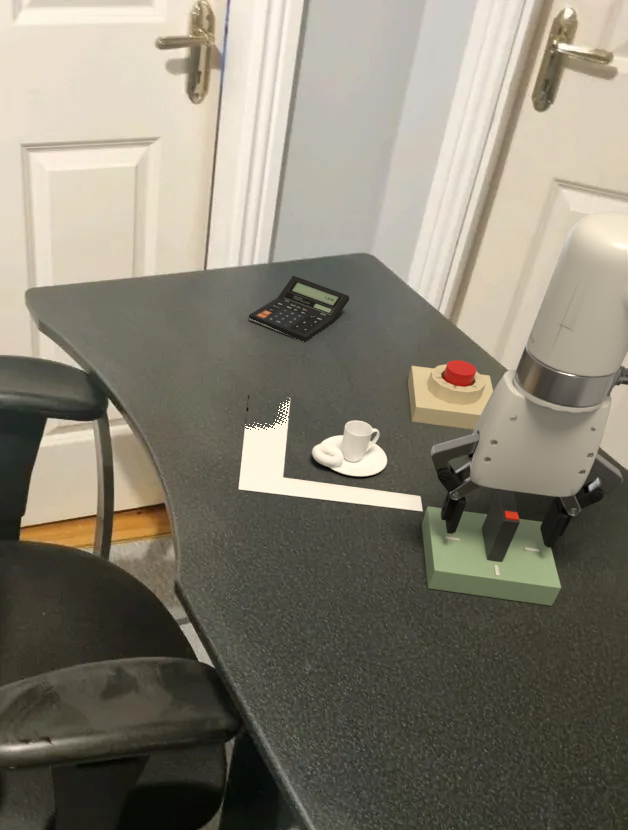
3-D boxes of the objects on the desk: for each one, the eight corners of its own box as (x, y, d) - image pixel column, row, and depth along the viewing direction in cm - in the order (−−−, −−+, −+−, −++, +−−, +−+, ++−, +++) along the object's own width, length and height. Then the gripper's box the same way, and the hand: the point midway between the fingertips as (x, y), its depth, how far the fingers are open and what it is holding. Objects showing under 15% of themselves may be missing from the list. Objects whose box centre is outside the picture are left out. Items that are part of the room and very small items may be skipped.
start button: (470, 374, 106) (474, 362, 105) (473, 389, 104) (478, 376, 102) (441, 371, 106) (445, 358, 105) (443, 385, 104) (447, 373, 103)
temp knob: (481, 527, 86) (498, 486, 83) (496, 529, 86) (513, 488, 83) (487, 560, 83) (504, 518, 79) (502, 562, 83) (521, 520, 79)
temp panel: (535, 540, 89) (545, 520, 88) (552, 606, 82) (562, 586, 80) (421, 524, 90) (428, 504, 88) (427, 588, 83) (435, 568, 81)
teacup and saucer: (309, 474, 95) (316, 443, 92) (310, 434, 101) (316, 404, 98) (388, 483, 95) (397, 453, 92) (384, 443, 101) (392, 413, 98)
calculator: (248, 320, 121) (251, 300, 118) (291, 294, 127) (294, 274, 125) (304, 343, 117) (308, 322, 115) (346, 314, 124) (350, 294, 122)
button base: (484, 390, 111) (494, 362, 108) (493, 432, 104) (504, 404, 101) (407, 380, 111) (415, 352, 109) (411, 422, 104) (419, 393, 102)
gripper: (658, 365, 73) (579, 520, 85) (456, 339, 74) (406, 496, 86) (682, 411, 68) (595, 569, 80) (464, 383, 69) (410, 543, 81)
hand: (497, 531), depth 83 cm, fingers open, 9 cm apart
